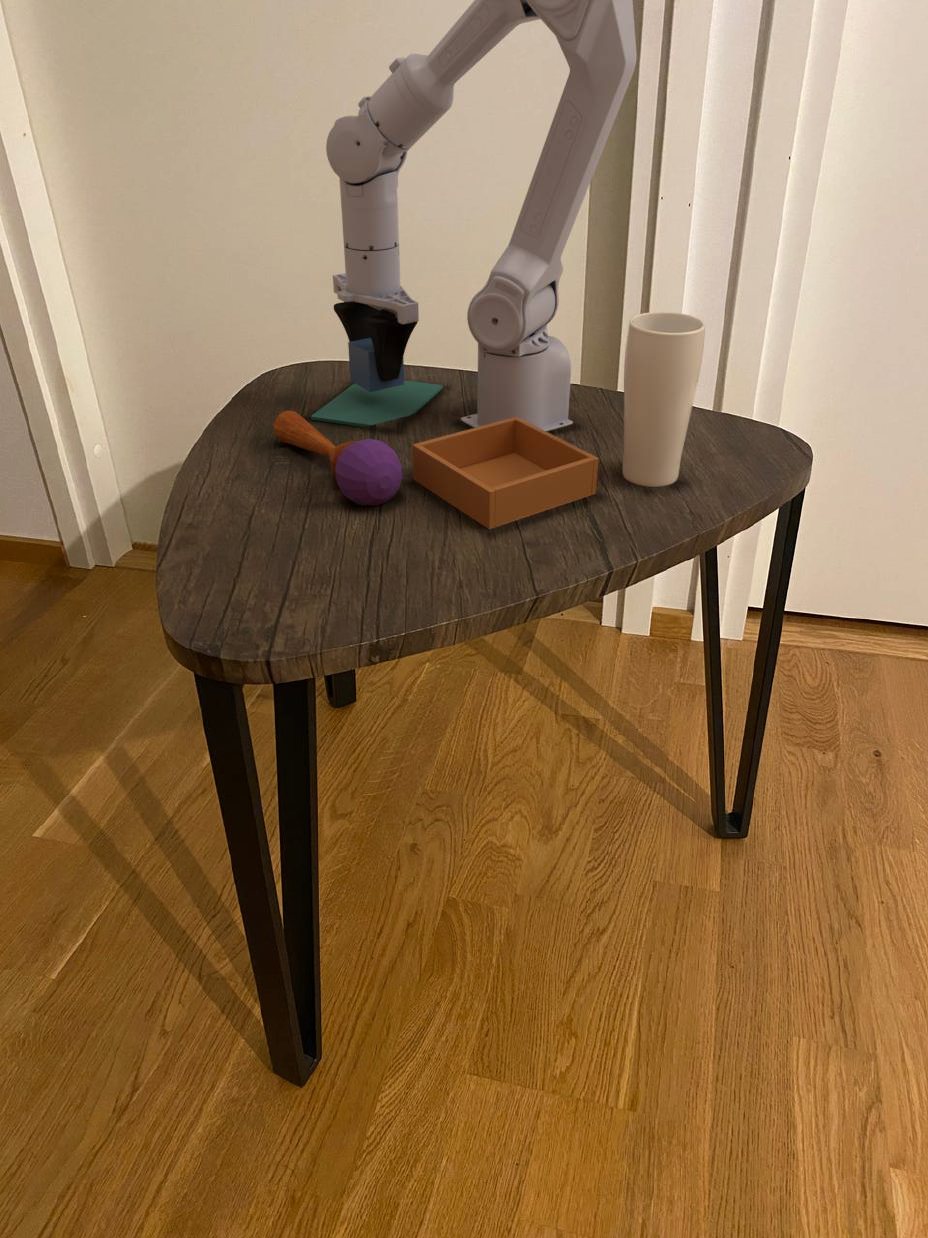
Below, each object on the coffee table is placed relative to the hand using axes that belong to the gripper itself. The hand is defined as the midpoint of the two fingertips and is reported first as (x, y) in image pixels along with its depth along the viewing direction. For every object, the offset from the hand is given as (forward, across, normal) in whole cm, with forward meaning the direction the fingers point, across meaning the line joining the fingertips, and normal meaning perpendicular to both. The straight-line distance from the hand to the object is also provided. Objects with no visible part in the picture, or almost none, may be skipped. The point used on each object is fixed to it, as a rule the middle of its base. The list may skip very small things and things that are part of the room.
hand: (377, 372), depth 109 cm
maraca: (+4, +14, -13) cm, 20 cm away
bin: (+3, +26, -2) cm, 26 cm away
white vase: (+4, +32, +11) cm, 34 cm away
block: (+1, 0, 0) cm, 1 cm away
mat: (+3, 0, 0) cm, 3 cm away
